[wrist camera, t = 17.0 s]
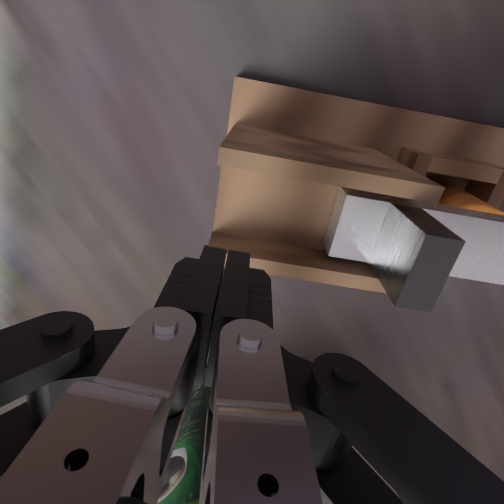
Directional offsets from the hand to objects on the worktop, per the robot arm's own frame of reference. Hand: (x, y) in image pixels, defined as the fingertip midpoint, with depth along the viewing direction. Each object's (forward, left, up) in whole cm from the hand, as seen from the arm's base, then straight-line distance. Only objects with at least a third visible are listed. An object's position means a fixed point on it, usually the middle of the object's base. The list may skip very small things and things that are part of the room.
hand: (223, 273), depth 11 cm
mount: (-9, 0, -17) cm, 20 cm away
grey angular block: (-11, 0, -8) cm, 14 cm away
